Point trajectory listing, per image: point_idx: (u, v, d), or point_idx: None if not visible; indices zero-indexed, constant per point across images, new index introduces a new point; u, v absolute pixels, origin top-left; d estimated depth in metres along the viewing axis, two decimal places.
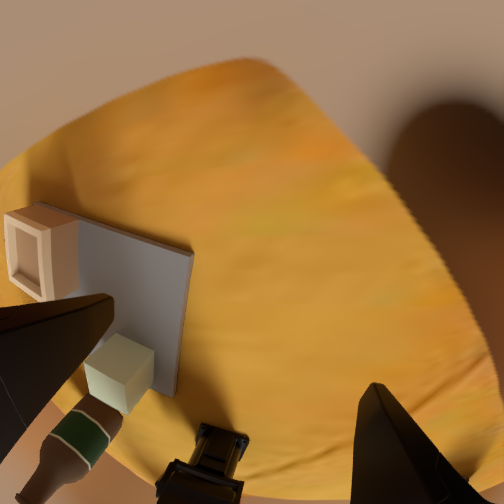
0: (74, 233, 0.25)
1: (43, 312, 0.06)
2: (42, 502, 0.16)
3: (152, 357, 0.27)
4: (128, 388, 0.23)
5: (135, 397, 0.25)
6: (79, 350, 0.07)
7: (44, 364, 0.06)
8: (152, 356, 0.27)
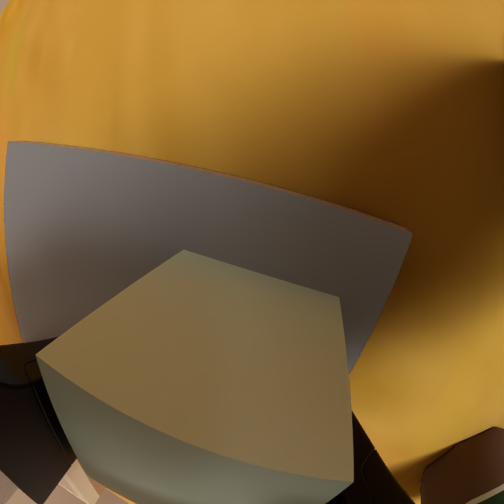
0: None
1: None
2: None
3: (197, 259, 0.08)
4: (107, 364, 0.04)
5: (279, 379, 0.04)
6: None
7: None
8: (193, 258, 0.08)
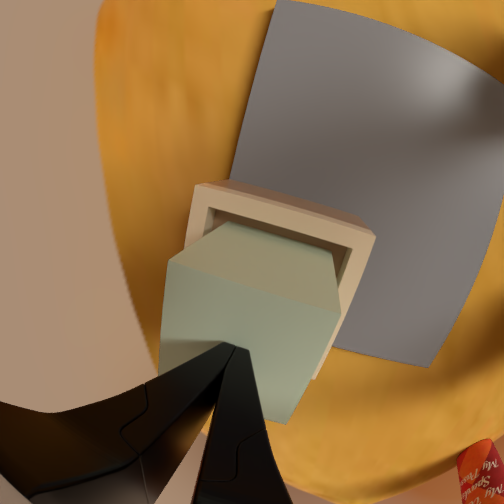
0: (248, 184, 0.16)
1: (184, 388, 0.05)
2: None
3: (239, 226, 0.13)
4: (211, 263, 0.08)
5: (298, 275, 0.09)
6: (207, 412, 0.07)
7: (182, 443, 0.05)
8: (236, 225, 0.13)
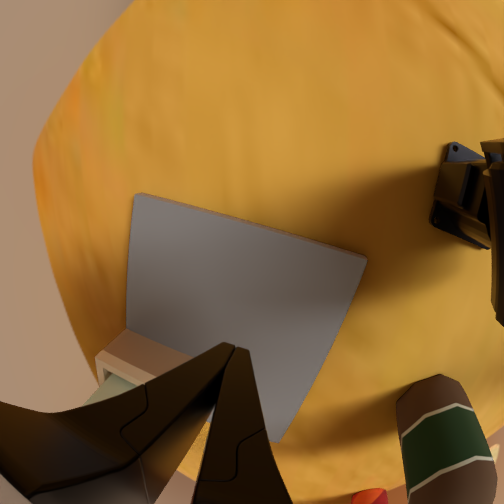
0: (134, 336, 0.24)
1: (184, 388, 0.05)
2: None
3: None
4: None
5: None
6: (207, 412, 0.07)
7: (182, 443, 0.05)
8: None
